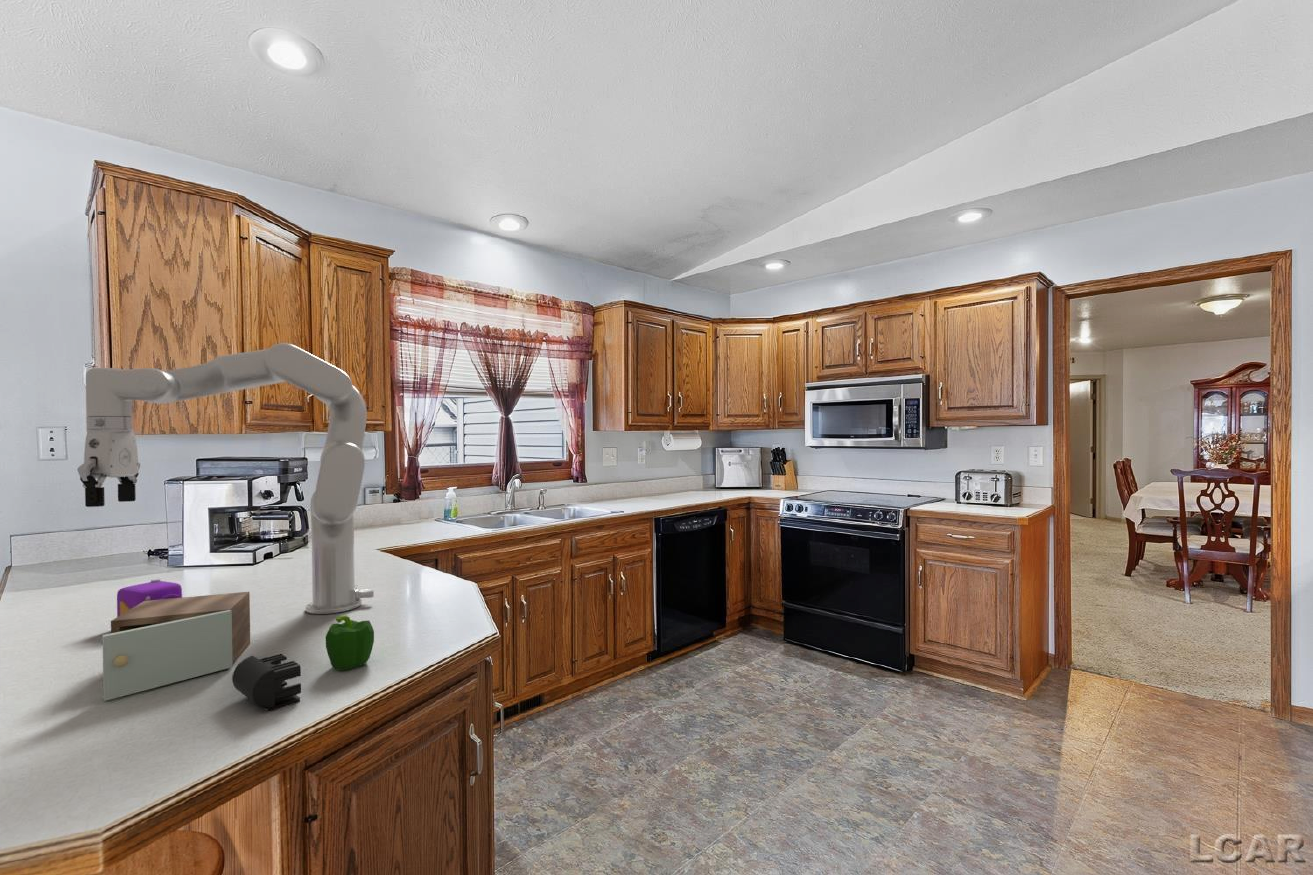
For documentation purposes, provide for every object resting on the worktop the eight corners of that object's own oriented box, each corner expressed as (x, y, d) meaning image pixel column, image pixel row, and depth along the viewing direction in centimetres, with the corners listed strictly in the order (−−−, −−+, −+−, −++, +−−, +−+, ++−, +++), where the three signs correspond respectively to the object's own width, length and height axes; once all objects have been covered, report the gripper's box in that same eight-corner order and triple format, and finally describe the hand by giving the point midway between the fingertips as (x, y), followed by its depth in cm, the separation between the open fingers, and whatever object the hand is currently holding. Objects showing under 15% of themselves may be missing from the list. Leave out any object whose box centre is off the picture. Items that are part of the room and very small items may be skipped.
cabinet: (250, 643, 128) (249, 591, 128) (230, 666, 115) (229, 609, 115) (145, 655, 122) (144, 600, 122) (111, 682, 109) (110, 620, 109)
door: (230, 665, 115) (229, 609, 115) (234, 668, 114) (233, 611, 114) (103, 698, 101) (102, 635, 101) (106, 702, 100) (105, 638, 100)
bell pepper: (361, 654, 121) (360, 604, 121) (381, 664, 116) (380, 611, 116) (316, 667, 115) (315, 614, 115) (335, 678, 110) (334, 622, 110)
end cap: (232, 701, 101) (231, 660, 101) (279, 687, 106) (279, 648, 106) (252, 718, 94) (252, 675, 94) (302, 702, 100) (301, 661, 100)
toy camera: (156, 635, 135) (155, 590, 135) (106, 631, 137) (105, 587, 137) (201, 620, 145) (200, 578, 145) (154, 617, 148) (154, 576, 148)
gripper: (100, 424, 124) (102, 508, 125) (154, 425, 141) (156, 499, 142) (58, 425, 123) (60, 509, 123) (118, 425, 140) (119, 500, 140)
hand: (111, 503), depth 132 cm, fingers open, 9 cm apart
